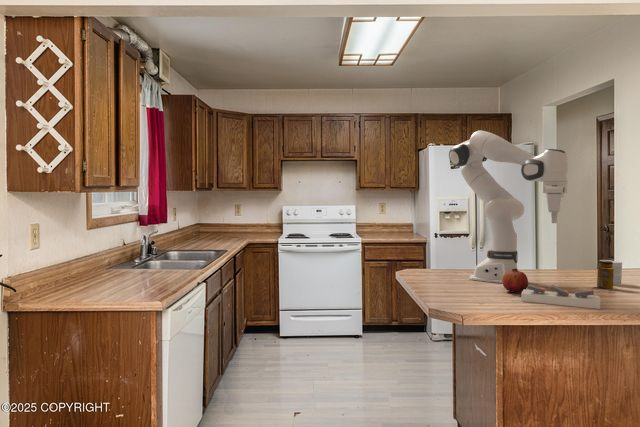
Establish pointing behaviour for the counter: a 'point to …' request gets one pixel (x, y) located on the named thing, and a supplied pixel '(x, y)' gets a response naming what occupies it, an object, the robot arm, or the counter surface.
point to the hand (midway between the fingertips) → (554, 223)
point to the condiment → (605, 276)
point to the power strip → (561, 299)
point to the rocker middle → (560, 290)
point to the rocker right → (584, 292)
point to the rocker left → (536, 288)
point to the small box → (616, 272)
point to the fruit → (515, 281)
